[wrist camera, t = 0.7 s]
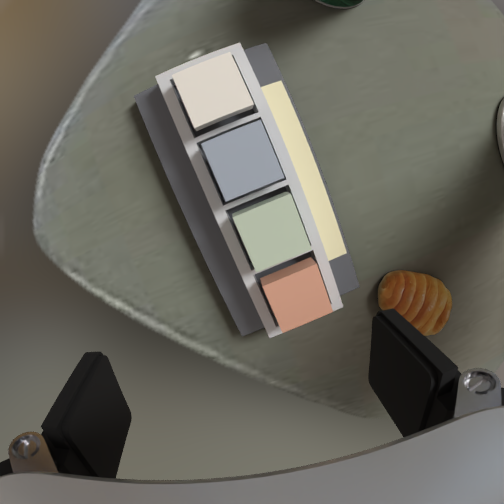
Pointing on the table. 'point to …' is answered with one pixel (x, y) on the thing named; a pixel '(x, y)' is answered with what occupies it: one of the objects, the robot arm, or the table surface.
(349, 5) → the canned tomato
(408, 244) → the table surface
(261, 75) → the keypad
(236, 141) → the slate key
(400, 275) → the pastry
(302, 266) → the terracotta key
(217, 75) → the ivory key
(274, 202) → the sage key
